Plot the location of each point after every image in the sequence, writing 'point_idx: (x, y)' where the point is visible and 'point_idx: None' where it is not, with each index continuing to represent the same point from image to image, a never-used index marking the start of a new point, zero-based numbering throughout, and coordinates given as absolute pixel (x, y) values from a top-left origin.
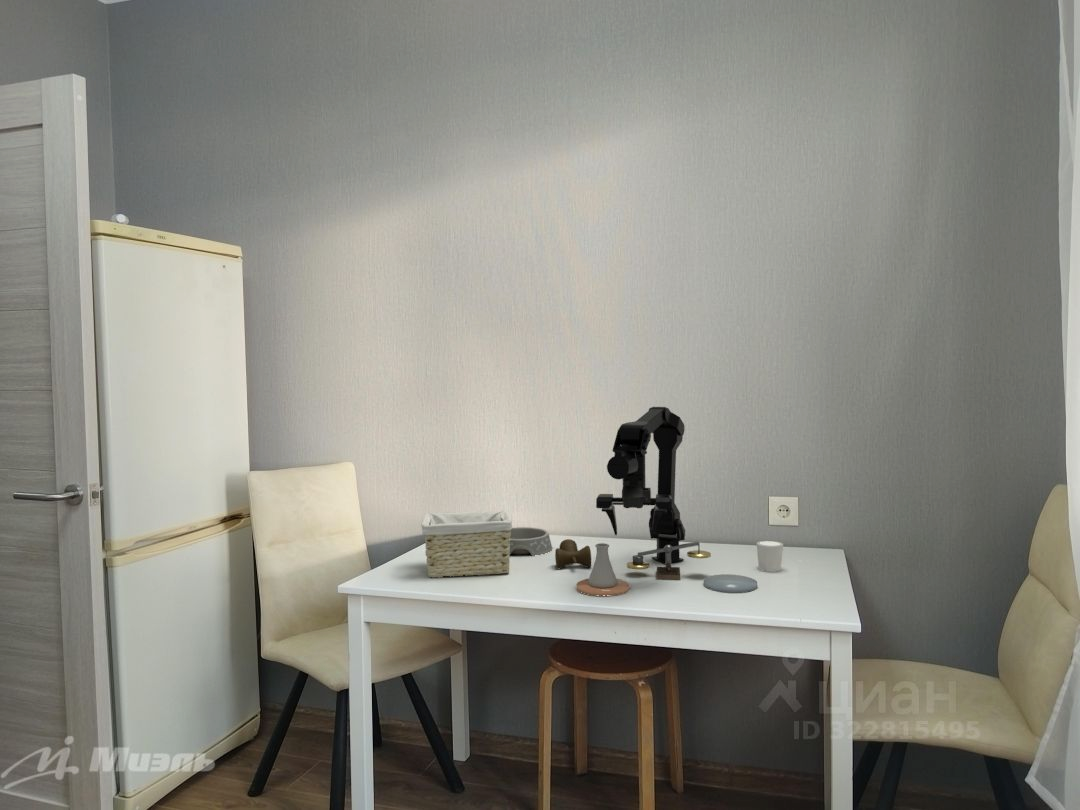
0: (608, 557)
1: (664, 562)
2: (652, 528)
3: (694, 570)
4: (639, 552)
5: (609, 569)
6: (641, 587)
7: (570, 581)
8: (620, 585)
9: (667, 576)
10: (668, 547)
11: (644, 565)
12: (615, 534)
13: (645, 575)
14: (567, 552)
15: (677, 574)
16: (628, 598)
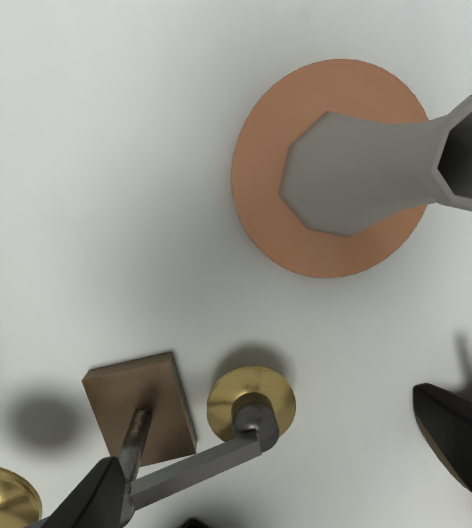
0: (373, 172)
1: (194, 523)
2: (73, 521)
3: None
4: (253, 455)
5: (333, 151)
6: (196, 240)
7: (455, 236)
8: (267, 188)
9: (130, 367)
10: None
11: (223, 401)
12: (427, 383)
13: None
14: None
15: (95, 387)
16: (205, 73)
